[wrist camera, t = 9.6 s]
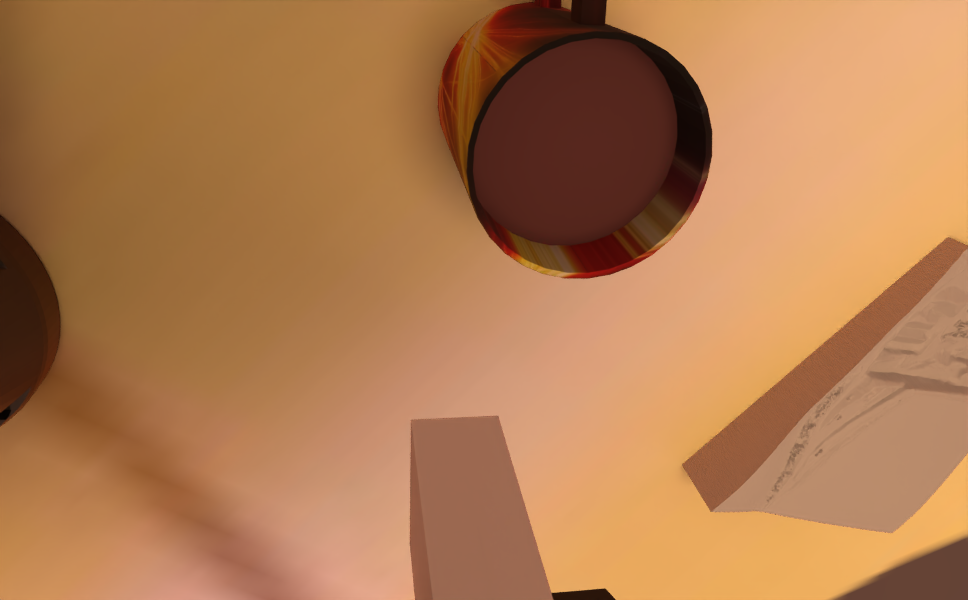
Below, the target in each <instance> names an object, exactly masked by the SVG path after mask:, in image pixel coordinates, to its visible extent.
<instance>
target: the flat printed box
mask: <svg viewBox="0 0 968 600" xmlns="http://www.w3.org/2000/svg"><path fill="white" fill-rule="evenodd" d="M967 453H968V246H967V245H965V244H963V243H960V242H958V241H956V240H953V239H951V238H949V237H948V238H946V239H945V240H944V241H943V242H942V243H941V244H939V245H938V246H937V247H936V248H935V249H933V251H931V252H930V253H929V254H928V255H926V256H925V257H924V258H923V259H922V260H921V261H920V262H918V263H917V264H916V265H915V266H914V267H912V268H911V269H910V270H909V271H908V272H907V273H906V274H904V275H903V276H902V277H901V278H899V279H898V280H897V281H896V282H895V283H894V284H893V285H892V286H890V287H889V288H888V289H887V290H885V291H884V292H883V293H882V294H881V295H880V296H879V297H878V298H876V299H875V300H874V301H873V302H871V303H870V304H869V305H868V306H867V307H866V308H865V309H864V310H862V311H861V312H860V313H859V314H857V316H855V317H854V318H853V319H852V320H850V321H849V322H848V323H847V324H846V325H845V326H844V327H843V328H841V329H840V330H839V331H838V332H837V333H835V334H834V335H833V336H832V337H831V338H829V339H828V340H827V341H826V342H825V343H824V344H823V345H821V346H820V347H819V348H818V349H817V350H816V351H814V352H813V353H812V354H811V355H810V356H808V357H807V358H806V359H805V360H804V361H803V362H801V363H800V364H799V365H798V366H797V367H795V369H794V370H792V371H791V372H790V373H789V374H788V375H786V376H785V377H784V378H783V379H782V380H781V381H779V382H778V383H777V384H776V385H775V386H773V387H772V388H771V389H770V390H769V391H768V392H766V393H765V394H764V395H763V396H762V397H760V398H759V399H758V400H757V401H756V402H755V403H754V404H752V405H751V406H750V407H749V408H748V409H746V410H745V411H744V412H743V413H742V414H741V415H739V416H738V417H737V418H736V419H735V420H734V421H733V422H731V423H730V424H729V425H728V426H727V427H725V428H724V429H723V430H722V431H721V432H720V433H719V434H717V435H716V436H715V437H714V438H713V439H711V440H710V441H709V442H708V443H707V444H706V445H705V446H703V447H702V448H701V449H700V450H699V451H698V452H697V453H695V454H694V455H693V456H691V457H690V458H689V459H688V460H687V461H686V462H685V463H683V464H682V465H683V467H684V469H685V470H686V472H687V474H688V475H689V477H690V479H691V480H692V482H693V483H694V485H695V487H696V488H697V490H698V492H699V493H700V495H701V496H702V498H703V500H704V501H705V503H706V505H707V506H708V508H709V509H710V511H711V512H748V511H759V512H760V511H762V512H765V513H766V512H767V513H772V514H775V515H776V514H777V515H780V516H785V517H786V516H787V517H790V518H791V517H792V518H798V519H802V520H808V521H814V522H819V523H826V524H832V525H838V526H843V527H844V526H845V527H851V528H858V529H865V530H870V531H879V532H885V533H886V532H887V533H893V532H894V531H895V530H896V529H898V528H899V527H900V526H901V525H902V524H904V523H905V522H906V521H907V520H908V519H910V517H912V516H913V515H914V514H915V513H916V512H917V511H918V510H919V509H920V508H921V507H922V506H923V505H924V504H925V503H926V501H927V500H928V499H929V498H930V497H931V496H932V495H933V494H934V493H935V492H936V490H937V489H938V488H939V487H940V486H941V484H943V482H944V481H945V480H946V479H947V478H948V476H949V475H950V474H951V473H952V471H953V470H954V469H955V468H956V467H957V466H958V465H959V463H960V462H961V461H962V460H963V458H964V457H965V456H966V455H967Z"/></svg>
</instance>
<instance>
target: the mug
mask: <svg viewBox="0 0 968 600" xmlns="http://www.w3.org/2000/svg"><path fill="white" fill-rule="evenodd" d="M606 3H607V0H572V8H571V10H569V9H566V8H563V7H561V0H535V3H533V2H529V3H522V4H516V5H510V6H508V7H505V8H502V9H500V10H497V11H494V12H492V13H491V14H489V15H487V16H486V17H484V18H483V19H481V20H479V21H478V22H476V23H475V24H474V25H473V26H472V27H471V28H470V29H469V30H468V31H467V32H466V33H465V34H464V35H463V36H462V37H461V38H460V40H459V41H458V43H457V44H456V46H455V47H454V48H453V50H452V51H451V53H450V55H449V58H448V60H447V62H446V64H445V66H444V69H443V72H442V76H441V80H440V85H439V93H438V111H439V117H440V124H441V127H442V130H443V133H444V135H445V138H446V141H447V143H448V146H449V148H450V151H451V153H452V156H453V158H454V161H455V163H456V166H457V168H458V171H459V173H460V176H461V178H462V181H463V183H464V185H465V188H466V190H467V193H468V195H469V198H470V200H471V203H472V205H473V208H474V210H475V213H476V215H477V218H478V219H479V221H480V223H481V224H482V226H483V227H484V229H485V231H486V232H487V234H488V235H489V237H490V238H491V239H492V240H493V241H494V242H495V243H496V244H497V245H498V246H499V247H500V249H501V250H502V251H503V252H504V253H505V254H507V255H508V256H510V257H511V258H513V259H514V260H516V261H517V262H519V263H520V264H522V265H523V266H525V267H528V268H530V269H533V270H535V271H537V272H540V273H542V274H546V275H551V276H556V277H561V278H593V277H599V276H605V275H610V274H613V273H616V272H618V271H621V270H624V269H627V268H629V267H632V266H634V265H635V264H637V263H639V262H641V261H642V260H644V259H646V258H648V257H649V256H651V255H653V254H654V253H655V252H656V251H657V250H659V249H660V248H661V247H662V246H664V245H665V244H666V243H667V242H668V241H670V240H671V239H672V237H673V236H674V235H675V234H676V233H677V232H678V231H679V229H680V228H681V227H682V226H683V225H684V224H685V222H686V221H687V220H688V218H689V216H690V215H691V213H692V211H693V210H694V208H695V206H696V205H697V203H698V201H699V199H700V196H701V194H702V191H703V189H704V186H705V184H706V181H707V178H708V173H709V168H710V163H711V158H712V128H711V123H710V118H709V113H708V108H707V105H706V103H705V101H704V98H703V96H702V94H701V91H700V89H699V87H698V85H697V84H696V82H695V81H694V79H693V78H692V77H691V75H690V74H689V72H688V71H687V70H686V68H685V67H684V66H683V65H682V64H681V63H680V62H679V61H677V60H676V59H675V58H674V57H673V56H672V55H671V54H670V53H668V52H667V51H666V50H664V49H662V48H660V47H659V46H657V45H655V44H653V43H651V42H649V41H648V40H646V39H643V38H641V37H638V36H636V35H633V34H631V33H628V32H625V31H623V30H620V29H618V28H615V27H613V26H610V25H607V24H605V16H606Z"/></svg>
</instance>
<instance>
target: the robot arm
mask: <svg viewBox="0 0 968 600" xmlns="http://www.w3.org/2000/svg"><path fill="white" fill-rule="evenodd" d="M59 336H60V316H59V308H58V304H57V299H56V296H55V292H54V289H53V286H52V284H51V281H50V279H49V277H48V275H47V273H46V271H45V269H44V267H43V265H42V264H41V262H40V260H39V259H38V257H37V256H36V254H35V253H34V251H33V250H32V249H31V247H30V246H29V245H28V244H27V242H26V241H25V240H24V239H23V238H22V237H21V236H20V234H19V233H18V232H17V231H16V230H15V229H14V228H13V227H12V226H11V225H10V224H9V223H7V222H6V221H5V220H4V219H3V218H2V217H0V427H1V426H2V425H4V424H5V423H6V422H7V421H9V420H10V419H11V418H12V417H13V416H14V415H16V414H17V413H18V412H19V411H20V410H21V409H22V408H23V406H24V405H25V404H26V403H27V402H28V401H29V399H30V398H31V396H32V395H33V394H34V392H35V391H36V389H37V388H38V386H39V385H40V384H41V382H42V381H43V379H44V378H45V377H46V375H47V373H48V371H49V370H50V368H51V365H52V363H53V361H54V358H55V355H56V352H57V348H58V343H59ZM410 551H411V561H412V572H413V583H414V593H415V600H616V599H615V598H614V597H613V596H612V595H611V594H610V593H609V592H608V591H607V590H606V589H595V590H583V591H571V592H559V593H551V590H550V587H549V584H548V580H547V577H546V574H545V570H544V567H543V564H542V560H541V557H540V554H539V550H538V547H537V544H536V540H535V537H534V534H533V530H532V527H531V524H530V520H529V517H528V514H527V511H526V507H525V504H524V501H523V497H522V494H521V491H520V487H519V484H518V481H517V477H516V474H515V471H514V467H513V464H512V461H511V457H510V454H509V451H508V447H507V444H506V441H505V437H504V434H503V431H502V427H501V424H500V421H499V417H498V416H483V417H461V418H440V419H418V420H411V473H410Z"/></svg>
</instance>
